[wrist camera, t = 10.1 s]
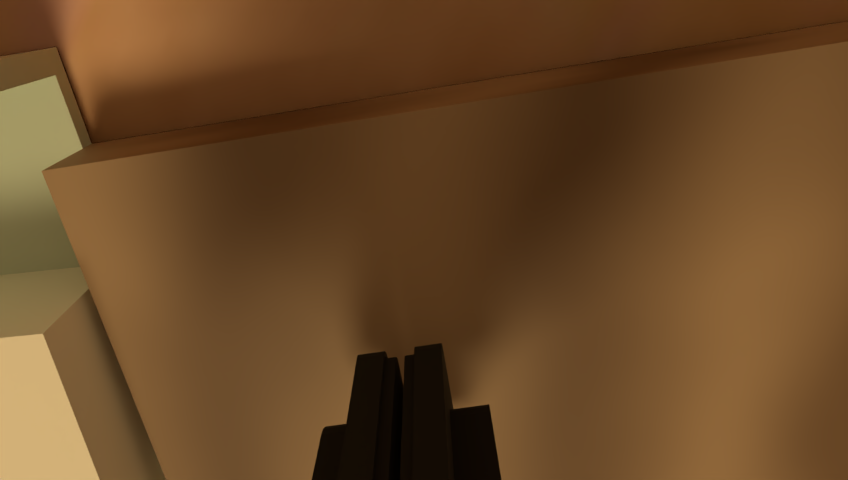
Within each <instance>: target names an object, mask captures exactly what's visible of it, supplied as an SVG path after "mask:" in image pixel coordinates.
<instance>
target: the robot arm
mask: <svg viewBox="0 0 848 480" xmlns="http://www.w3.org/2000/svg"><path fill="white" fill-rule="evenodd" d="M312 480H501V473H500V467H499V461H498V455H497V449H496V443H495V436H494V430H493V424H492V418H491V412H490V406H489V404H487V405H480V406H473V407H465V408H458V409H453V403H452V397H451V391H450V386H449V380H448V374H447V369H446V363H445V357H444V351H443V346H442V343H438V344H431V345H424V346H417V347H414V354H413V355H406V356H405V358H404V383H403V381H402V376H401V372H400V367H399V362H398V359H397V357H391V358H388V356H387V353H386V352H385V351H382V352H375V353H367V354H360V355H358V356H357V360H356V366H355V372H354V378H353V385H352V391H351V397H350V403H349V409H348V416H347V422H346V424H340V425H333V426H325V427H324V428H323V431H322V434H321V438H320V443H319V447H318V452H317V457H316V461H315V466H314V471H313V476H312Z"/></svg>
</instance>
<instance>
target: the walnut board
mask: <svg viewBox="0 0 848 480" xmlns="http://www.w3.org/2000/svg"><path fill="white" fill-rule="evenodd" d="M42 174H43V176H44V179H45V181H46V184H47V186H48V189H49V191H50V194H51V196H52V199H53V201H54V203H55V206H56V208H57V211H58V213H59V216H60V218H61V221H62V223H63V226H64V228H65V231H66V233H67V236H68V238H69V241H70V243H71V246H72V248H73V251H74V253H75V255H76V258H77V260H78V263H79V265H80V268H81V270H82V273H83V275H84V278H85V280H86V283H87V285H88V288H89V290H90V293H91V295H92V298H93V300H94V302H95V305H96V307H97V310H98V312H99V315H100V317H101V320H102V322H103V325H104V327H105V330H106V332H107V335H108V337H109V340H110V342H111V345H112V347H113V349H114V352H115V354H116V357H117V359H118V362H119V364H120V367H121V369H122V372H123V374H124V377H125V379H126V382H127V384H128V387H129V389H130V392H131V394H132V397H133V399H134V401H135V404H136V406H137V409H138V411H139V414H140V416H141V419H142V421H143V424H144V426H145V429H146V431H147V434H148V436H149V439H150V441H151V444H152V446H153V448H154V451H155V453H156V456H157V458H158V461H159V463H160V466H161V468H162V471H163V473H164V476H165V478H166V480H312V476H313V471H314V466H315V461H316V457H317V452H318V447H319V443H320V438H321V434H322V431H323V428H324V427H325V426H333V425H340V424H346V422H347V416H348V409H349V403H350V397H351V391H352V385H353V378H354V372H355V366H356V360H357V356H358V355H360V354H367V353H375V352H382V351H385V352H386V353H387V356H388V358H391V357H397V359H398V362H399V367H400V372H401V376H402V381H403V383H404V358H405V356H406V355H413V354H414V347H417V346H424V345H431V344H438V343H442V346H443V351H444V357H445V363H446V369H447V374H448V380H449V386H450V391H451V397H452V403H453V409H458V408H465V407H473V406H480V405H487V404H489V406H490V412H491V418H492V424H493V430H494V436H495V443H496V449H497V455H498V461H499V467H500V473H501V480H848V21H846V22H839V23H833V24H827V25H821V26H815V27H809V28H802V29H796V30H790V31H784V32H778V33H772V34H765V35H759V36H753V37H747V38H741V39H735V40H728V41H722V42H716V43H710V44H704V45H698V46H691V47H685V48H679V49H673V50H667V51H661V52H654V53H648V54H642V55H636V56H630V57H624V58H617V59H611V60H605V61H599V62H593V63H587V64H580V65H574V66H568V67H562V68H556V69H550V70H543V71H537V72H531V73H525V74H519V75H513V76H506V77H500V78H494V79H488V80H482V81H476V82H470V83H463V84H457V85H451V86H445V87H439V88H433V89H426V90H420V91H414V92H408V93H402V94H396V95H389V96H383V97H377V98H371V99H365V100H359V101H352V102H346V103H340V104H334V105H328V106H322V107H315V108H309V109H303V110H297V111H291V112H285V113H278V114H272V115H266V116H260V117H254V118H248V119H241V120H235V121H229V122H223V123H217V124H211V125H204V126H198V127H192V128H186V129H180V130H174V131H167V132H161V133H155V134H149V135H143V136H137V137H130V138H124V139H118V140H112V141H106V142H100V143H93V144H90V145H89V146H87V147H85V148H83V149H81V150H79V151H77V152H76V153H74V154H72V155H70V156H68V157H66V158H65V159H63V160H61V161H59V162H57V163H55V164H53V165H52V166H50V167H48V168H46V169H44V170H42Z"/></svg>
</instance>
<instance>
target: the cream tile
mask: <svg viewBox="0 0 848 480" xmlns="http://www.w3.org/2000/svg"><path fill="white" fill-rule="evenodd" d="M0 480H166V478H165V476H164V473H163V471H162V468H161V466H160V463H159V461H158V458H157V456H156V453H155V451H154V448H153V446H152V444H151V441H150V439H149V436H148V434H147V431H146V429H145V426H144V424H143V421H142V419H141V416H140V414H139V411H138V409H137V406H136V404H135V401H134V399H133V397H132V394H131V392H130V389H129V387H128V384H127V382H126V379H125V377H124V374H123V372H122V369H121V367H120V364H119V362H118V359H117V357H116V354H115V352H114V349H113V347H112V345H111V342H110V340H109V337H108V335H107V332H106V330H105V327H104V325H103V322H102V320H101V317H100V315H99V312H98V310H97V307H96V305H95V302H94V300H93V298H92V295H91V293H90V290H89V288H88V285H87V283H86V280H85V278H84V275H83V273H82V270H81V268H80V267H73V268H64V269H54V270H44V271H35V272H25V273H16V274H6V275H0Z"/></svg>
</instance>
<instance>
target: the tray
mask: <svg viewBox="0 0 848 480" xmlns="http://www.w3.org/2000/svg"><path fill="white" fill-rule="evenodd" d="M90 144H92V143H91V141H90V138H89V135H88V132H87V130H86V127H85V124H84V121H83V119H82V116H81V113H80V111H79V108H78V105H77V102H76V100H75V97H74V94H73V91H72V89H71V86H70V83H69V80H68V78H67V75H66V72H65V70H64V67H63V64H62V61H61V59H60V56H59V53H58V50H57V48H56V47H53V48H47V49H41V50H35V51H30V52H24V53H18V54H12V55H6V56H0V275H6V274H16V273H25V272H35V271H44V270H54V269H64V268H73V267H80V265H79V263H78V260H77V258H76V255H75V253H74V251H73V248H72V246H71V243H70V241H69V238H68V236H67V233H66V231H65V228H64V226H63V223H62V221H61V218H60V216H59V213H58V211H57V208H56V206H55V203H54V201H53V199H52V196H51V194H50V191H49V189H48V186H47V184H46V181H45V179H44V176H43V174H42V170H44V169H46V168H48V167H50V166H52V165H53V164H55V163H57V162H59V161H61V160H63V159H65V158H66V157H68V156H70V155H72V154H74V153H76V152H77V151H79V150H81V149H83V148H85V147H87V146H89V145H90Z"/></svg>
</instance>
